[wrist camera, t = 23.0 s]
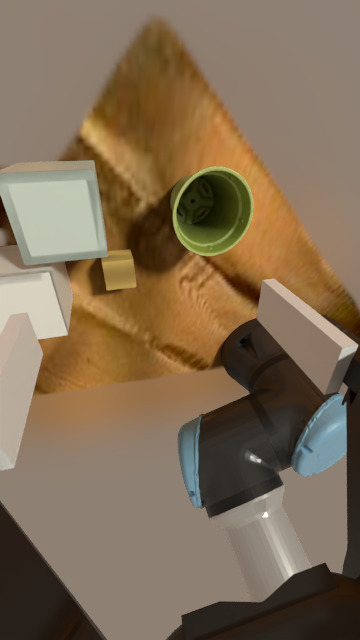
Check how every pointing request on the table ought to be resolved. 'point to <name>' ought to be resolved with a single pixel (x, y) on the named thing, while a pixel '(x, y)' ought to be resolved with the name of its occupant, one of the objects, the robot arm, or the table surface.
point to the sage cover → (54, 210)
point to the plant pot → (211, 210)
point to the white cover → (35, 293)
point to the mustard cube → (119, 270)
